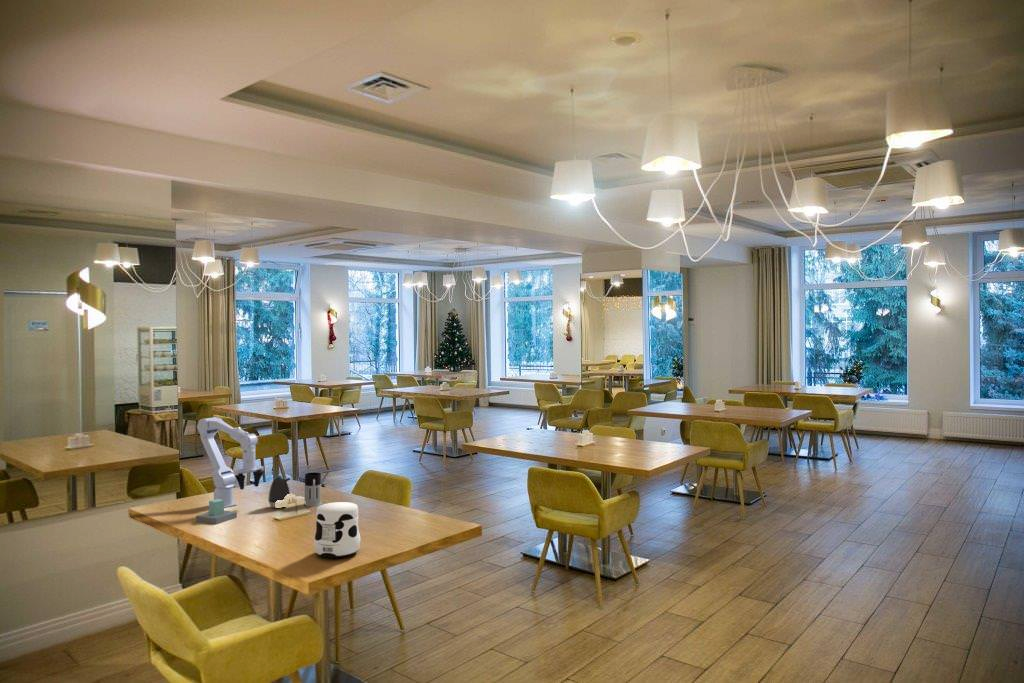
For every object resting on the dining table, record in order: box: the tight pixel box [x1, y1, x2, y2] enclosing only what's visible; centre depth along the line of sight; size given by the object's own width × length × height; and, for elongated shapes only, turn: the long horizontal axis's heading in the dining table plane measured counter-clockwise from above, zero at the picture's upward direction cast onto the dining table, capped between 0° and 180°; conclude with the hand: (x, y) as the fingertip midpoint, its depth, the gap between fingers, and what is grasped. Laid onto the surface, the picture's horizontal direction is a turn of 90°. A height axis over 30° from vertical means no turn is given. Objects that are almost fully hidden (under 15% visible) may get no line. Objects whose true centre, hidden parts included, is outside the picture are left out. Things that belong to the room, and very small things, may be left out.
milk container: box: [313, 501, 362, 559], centre depth 261 cm, size 17×17×18 cm
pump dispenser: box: [268, 475, 291, 509], centre depth 331 cm, size 10×10×15 cm
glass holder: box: [304, 471, 323, 508], centre depth 334 cm, size 9×14×15 cm, turn 20°
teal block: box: [208, 499, 225, 516], centre depth 309 cm, size 4×4×6 cm
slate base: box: [195, 509, 238, 525], centre depth 309 cm, size 12×12×2 cm
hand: (249, 487), depth 329 cm, fingers open, 7 cm apart
